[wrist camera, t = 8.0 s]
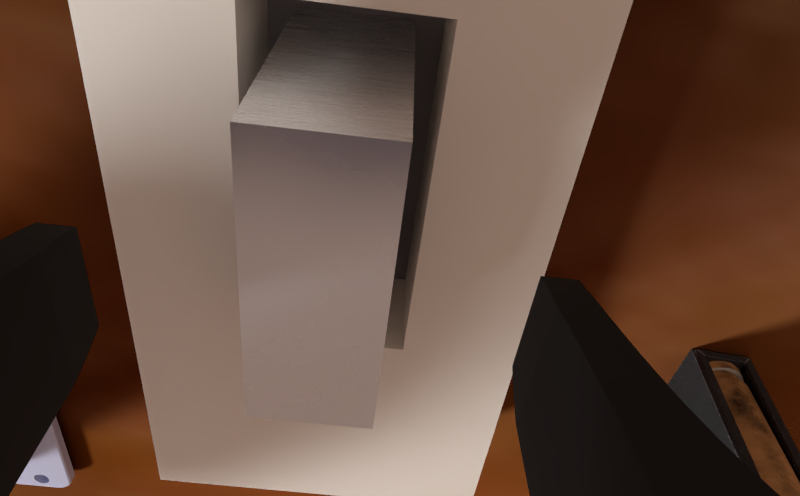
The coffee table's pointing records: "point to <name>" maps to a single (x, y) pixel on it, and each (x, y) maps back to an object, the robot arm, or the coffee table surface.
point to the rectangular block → (321, 212)
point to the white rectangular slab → (419, 236)
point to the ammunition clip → (740, 415)
